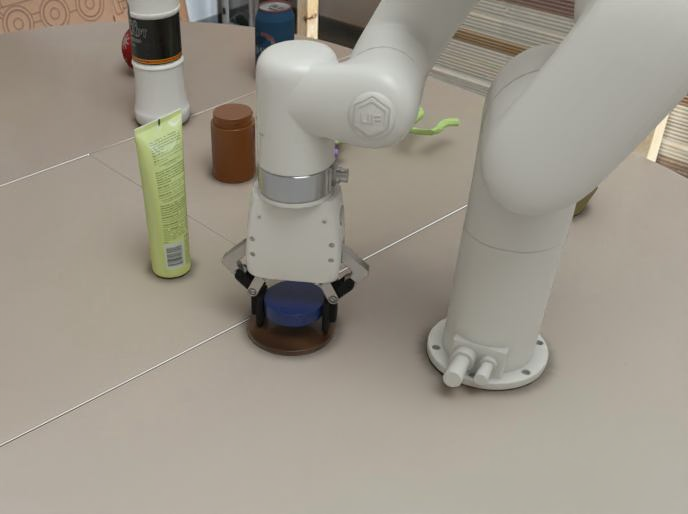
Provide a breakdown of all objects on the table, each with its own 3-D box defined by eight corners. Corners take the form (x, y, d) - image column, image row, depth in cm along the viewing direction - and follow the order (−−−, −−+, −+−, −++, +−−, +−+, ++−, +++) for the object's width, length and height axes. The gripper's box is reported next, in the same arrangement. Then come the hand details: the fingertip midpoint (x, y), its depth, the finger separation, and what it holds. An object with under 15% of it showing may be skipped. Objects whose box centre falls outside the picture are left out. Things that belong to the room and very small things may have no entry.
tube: (153, 256, 107) (137, 108, 94) (192, 254, 107) (181, 106, 94) (150, 280, 103) (133, 129, 90) (191, 279, 103) (179, 127, 90)
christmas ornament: (177, 66, 155) (173, 9, 148) (157, 83, 150) (152, 25, 143) (137, 61, 158) (131, 5, 151) (116, 78, 152) (109, 21, 146)
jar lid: (291, 284, 96) (291, 272, 95) (337, 305, 92) (338, 294, 91) (251, 311, 93) (250, 299, 92) (297, 334, 89) (298, 322, 88)
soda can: (247, 77, 149) (246, 6, 141) (273, 66, 153) (274, -4, 144) (274, 86, 146) (275, 14, 137) (301, 75, 149) (303, 4, 141)
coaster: (312, 365, 90) (313, 361, 89) (232, 340, 93) (232, 336, 93) (348, 316, 96) (348, 311, 95) (271, 295, 100) (271, 290, 99)
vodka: (188, 130, 134) (174, -80, 114) (132, 132, 135) (108, -76, 114) (192, 107, 141) (179, -95, 120) (138, 109, 142) (116, -92, 121)
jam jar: (243, 186, 120) (241, 123, 113) (205, 178, 122) (201, 116, 116) (263, 168, 124) (262, 106, 117) (225, 160, 126) (223, 99, 120)
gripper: (387, 164, 82) (374, 310, 95) (220, 155, 86) (227, 296, 98) (380, 201, 77) (366, 350, 89) (201, 189, 81) (212, 334, 93)
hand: (294, 321), depth 94 cm, fingers closed on jar lid, 6 cm apart
